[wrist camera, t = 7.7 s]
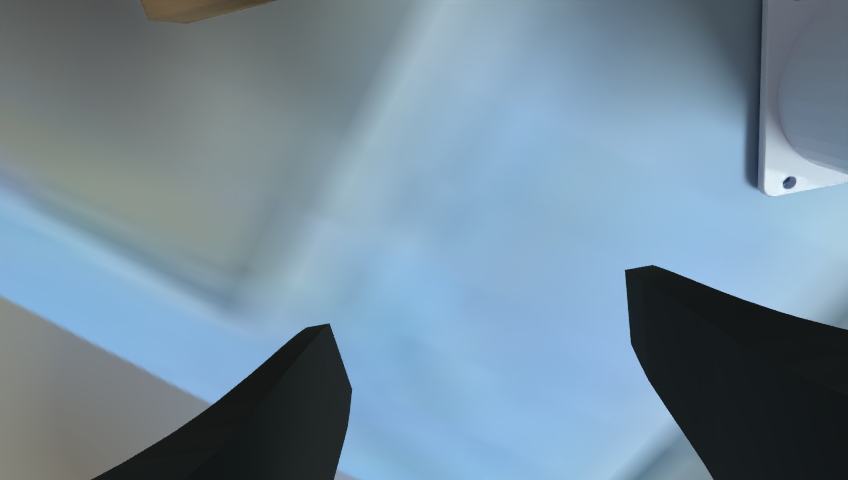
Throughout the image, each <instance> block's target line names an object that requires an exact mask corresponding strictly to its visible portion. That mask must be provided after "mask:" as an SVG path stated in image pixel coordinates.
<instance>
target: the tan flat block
mask: <svg viewBox="0 0 848 480" xmlns="http://www.w3.org/2000/svg"><path fill="white" fill-rule="evenodd" d="M272 1H276V0H141V2H142V5H143V7H144V10H145V13H146V15H147V18H148V20H157V21H166V22H176V23H190V22H194V21H198V20H202V19H206V18H210V17H214V16H218V15H221V14H225V13H229V12H233V11H237V10H241V9H245V8H249V7H253V6H257V5H261V4H264V3H268V2H272Z"/></svg>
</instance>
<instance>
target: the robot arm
mask: <svg viewBox="0 0 848 480" xmlns="http://www.w3.org/2000/svg"><path fill="white" fill-rule="evenodd" d="M787 177H790V180H789V183H788V184H787V185H785V186H783V185H782V184H783V181H784V180H785V179H786V178H787ZM844 183H848V0H763V12H762V50H761V87H760V125H759V163H758V189H759V191H760V192H761V193H763V194H765V195H767V196H770V197H776V196H781V195H786V194H791V193H797V192H802V191H807V190H812V189H818V188H823V187H828V186H833V185H839V184H844ZM625 276H626V288H627V300H628V313H629V325H630V337H631V345H632V347H633V349H634V351H635V353H636V356H637V358H638V360H639V362H640V364H641V366H642V368H643V370H644V372H645V374H646V376H647V378H648V380H649V382H650V383H651V385H652V386H653V388H654V389H655V391H656V392H657V394H658V395H659V397H660V398H661V400H662V402H663V403H664V405H665V406H666V408H667V409H668V411H669V412H670V414H671V415H672V417H673V418H674V420H675V421H676V422H677V424H678V425H679V427H680V428H681V430H682V431H683V433H684V434H685V436H686V437H687V439H688V440H689V442H690V443H691V445H692V446H693V448H694V449H695V451H696V452H697V454H698V455H699V457H700V458H701V460H702V461H703V463H704V464H705V466H706V468H707V469H708V471H709V473H710V474H711V476H712V478H713V479H714V480H848V330H846V329H842V328H838V327H834V326H830V325H826V324H822V323H818V322H814V321H811V320H807V319H803V318H799V317H796V316H792V315H789V314H785V313H782V312H779V311H776V310H773V309H770V308H767V307H764V306H761V305H758V304H755V303H752V302H749V301H746V300H743V299H740V298H738V297H735V296H732V295H729V294H727V293H724V292H721V291H719V290H716V289H714V288H711V287H709V286H706V285H704V284H701V283H699V282H696V281H694V280H691V279H689V278H686V277H684V276H681V275H679V274H676V273H674V272H671V271H668V270H666V269H663V268H660V267H657V266H654V265H650V266H645V267H639V268H634V269H628V270H625ZM351 395H352V388H351V385H350V382H349V379H348V376H347V373H346V370H345V367H344V364H343V361H342V359H341V356H340V353H339V350H338V347H337V344H336V341H335V338H334V335H333V332H332V329H331V326H330V323H329V324H323V325H318V326H312V327H307V328H305V329H304V330H302V331H301V332H299V333H298V334H297V335H295V336H294V337H293V338H292V339H291V340H289V341H288V342H287V343H286V344H285V345H284V346H282V347H281V348H280V349H279V350H278V351H277V352H276V353H274V354H273V355H272V356H271V357H270V358H269V359H268V360H266V361H265V362H264V363H263V364H262V365H261V366H260V367H258V368H257V369H256V370H255V371H254V372H253V373H251V374H250V375H249V376H248V377H247V378H245V379H244V380H243V381H242V382H241V383H239V384H238V385H237V386H236V387H234V388H233V389H232V390H231V391H229V392H228V393H227V394H226V395H224V396H223V397H222V398H221V399H220V400H218V401H217V402H216V403H214V404H213V405H212V406H210V407H209V408H208V409H206V410H205V411H204V412H202V413H201V414H200V415H198V416H197V417H195V418H194V419H192V420H191V421H189V422H188V423H186V424H185V425H184V426H182V427H181V428H179V429H178V430H176V431H175V432H173V433H172V434H170V435H169V436H167V437H165V438H163V439H162V440H160V441H159V442H157V443H155V444H154V445H152V446H150V447H149V448H147V449H145V450H144V451H142V452H140V453H139V454H137V455H135V456H134V457H132V458H130V459H129V460H127V461H125V462H124V463H122V464H120V465H118V466H116V467H114V468H112V469H111V470H109V471H107V472H105V473H103V474H101V475H99V476H97V477H95V478H94V479H92V480H334V477H335V473H336V469H337V466H338V462H339V458H340V455H341V451H342V447H343V443H344V439H345V435H346V431H347V427H348V421H349V413H350V404H351Z"/></svg>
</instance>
